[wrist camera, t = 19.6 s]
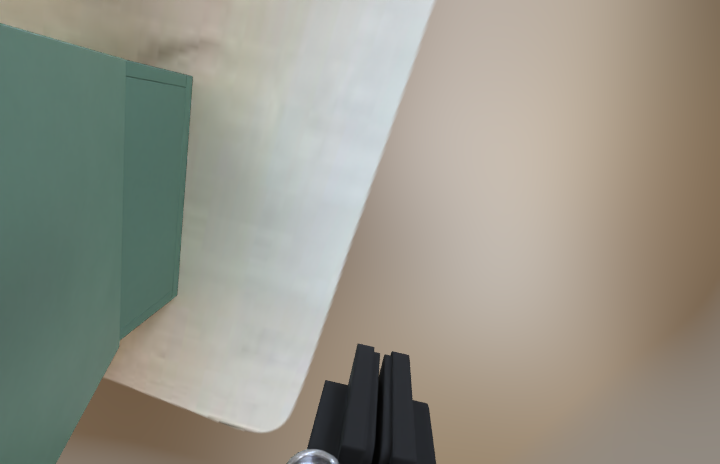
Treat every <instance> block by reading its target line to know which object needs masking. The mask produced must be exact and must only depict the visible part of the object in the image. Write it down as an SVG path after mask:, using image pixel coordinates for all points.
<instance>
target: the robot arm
mask: <svg viewBox="0 0 720 464" xmlns="http://www.w3.org/2000/svg"><path fill="white" fill-rule="evenodd" d="M379 361H380V353H376V352H374V347H371V346H367V345H362V344H358V345H357V349H356V353H355V358H354V362H353V366H352V371H351V375H350V379H349V384H348V385H344V384H340V383H335V382H331V381H327V380H326V381H325V384H324V388H323V391H322V395H321V399H320V403H319V406H318V410H317V414H316V417H315V421H314V425H313V429H312V433H311V436H310V440H309V444H308V447H307V450H304V451H301V452H298V453H297V454H296V455H294V456H293V457H291V459H290V460H289V461H288V462H287V464H436V460H435V452H434V445H433V436H432V429H431V421H430V413H429V407H428V404H426V403H423V402H418V401H414V400H412V388H411V375H410V374H411V373H410V360H409V355H406V354H402V353H397V352H393V351H392V352H391V355H390V356H389V355H384V359H383V362H382V366H381V370H380V374H379Z"/></svg>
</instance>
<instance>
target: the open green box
mask: <svg viewBox="0 0 720 464" xmlns="http://www.w3.org/2000/svg"><path fill="white" fill-rule="evenodd" d="M192 80H193V77H192V76H189V75H185V74H181V73H177V72H173V71H169V70H165V69H161V68H157V67H153V66H149V65H145V64H141V63H137V62H133V61H129V60H126V82H125V125H124V168H123V211H122V254H121V297H120V340H121V339H122V338H123V337H125V336H126V335H127V334H128V333H130V332H131V331H132V330H134V329H135V328H136V327H137V326H139V325H140V324H141V323H143V322H144V321H145V320H146V319H148V318H149V317H150V316H151V315H153V314H154V313H155V312H157V311H158V310H159V309H160V308H162V307H163V306H164V305H165V304H167V303H168V302H169V301H171V300H172V299H173V298H174V297H176V296H177V290H178V276H179V262H180V248H181V234H182V220H183V206H184V192H185V178H186V164H187V150H188V136H189V122H190V108H191V94H192ZM120 340H119V341H120Z"/></svg>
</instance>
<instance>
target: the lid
mask: <svg viewBox="0 0 720 464" xmlns="http://www.w3.org/2000/svg"><path fill="white" fill-rule="evenodd" d="M125 82H126V60H125V59H122V58H119V57H115V56H112V55H108V54H105V53H102V52H98V51H95V50H91V49H88V48H84V47H81V46H77V45H74V44H70V43H67V42H64V41H60V40H57V39H53V38H50V37H46V36H43V35H39V34H36V33H32V32H29V31H25V30H22V29H19V28H15V27H12V26H8V25H5V24H1V23H0V464H56V462H57V460H58V458H59V457H60V455H61V453H62V451H63V449H64V448H65V446H66V444H67V442H68V440H69V438H70V436H71V435H72V433H73V431H74V429H75V427H76V425H77V423H78V422H79V420H80V418H81V416H82V414H83V413H84V411H85V409H86V407H87V405H88V403H89V401H90V400H91V398H92V396H93V394H94V392H95V390H96V389H97V387H98V385H99V383H100V381H101V379H102V378H103V376H104V374H105V372H106V370H107V368H108V366H109V365H110V363H111V361H112V359H113V357H114V355H115V354H116V352H117V350H118V348H119V340H120V297H121V254H122V211H123V168H124V125H125Z"/></svg>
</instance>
